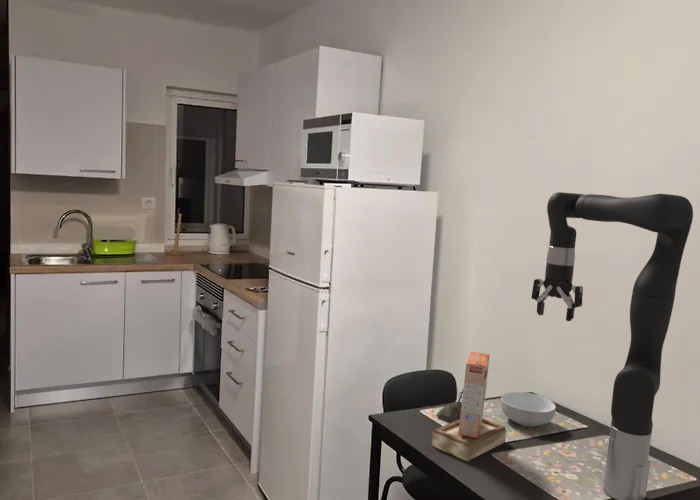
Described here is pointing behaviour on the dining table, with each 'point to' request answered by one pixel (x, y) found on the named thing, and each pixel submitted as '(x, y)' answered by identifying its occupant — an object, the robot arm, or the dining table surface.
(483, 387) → the cracker box
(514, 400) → the cereal bowl
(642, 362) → the robot arm
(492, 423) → the wooden box
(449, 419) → the sword in stone
